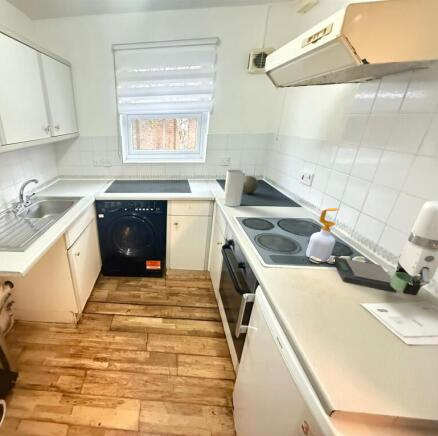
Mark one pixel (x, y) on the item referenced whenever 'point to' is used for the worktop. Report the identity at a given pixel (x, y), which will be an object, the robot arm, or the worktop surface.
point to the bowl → (400, 281)
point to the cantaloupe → (250, 184)
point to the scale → (363, 274)
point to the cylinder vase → (233, 187)
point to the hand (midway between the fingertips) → (403, 286)
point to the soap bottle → (322, 240)
